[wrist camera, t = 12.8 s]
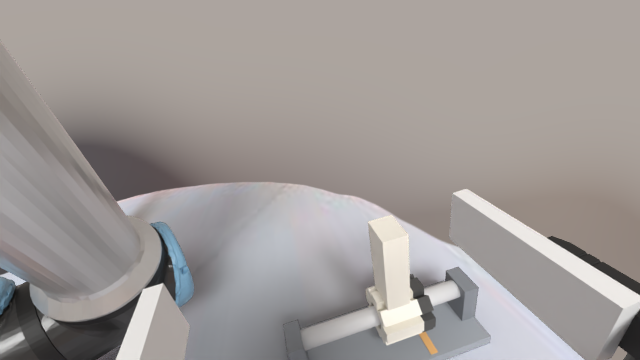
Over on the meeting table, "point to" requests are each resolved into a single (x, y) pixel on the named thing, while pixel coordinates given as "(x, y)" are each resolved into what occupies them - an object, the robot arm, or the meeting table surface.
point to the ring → (423, 303)
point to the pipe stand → (403, 356)
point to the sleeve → (392, 282)
